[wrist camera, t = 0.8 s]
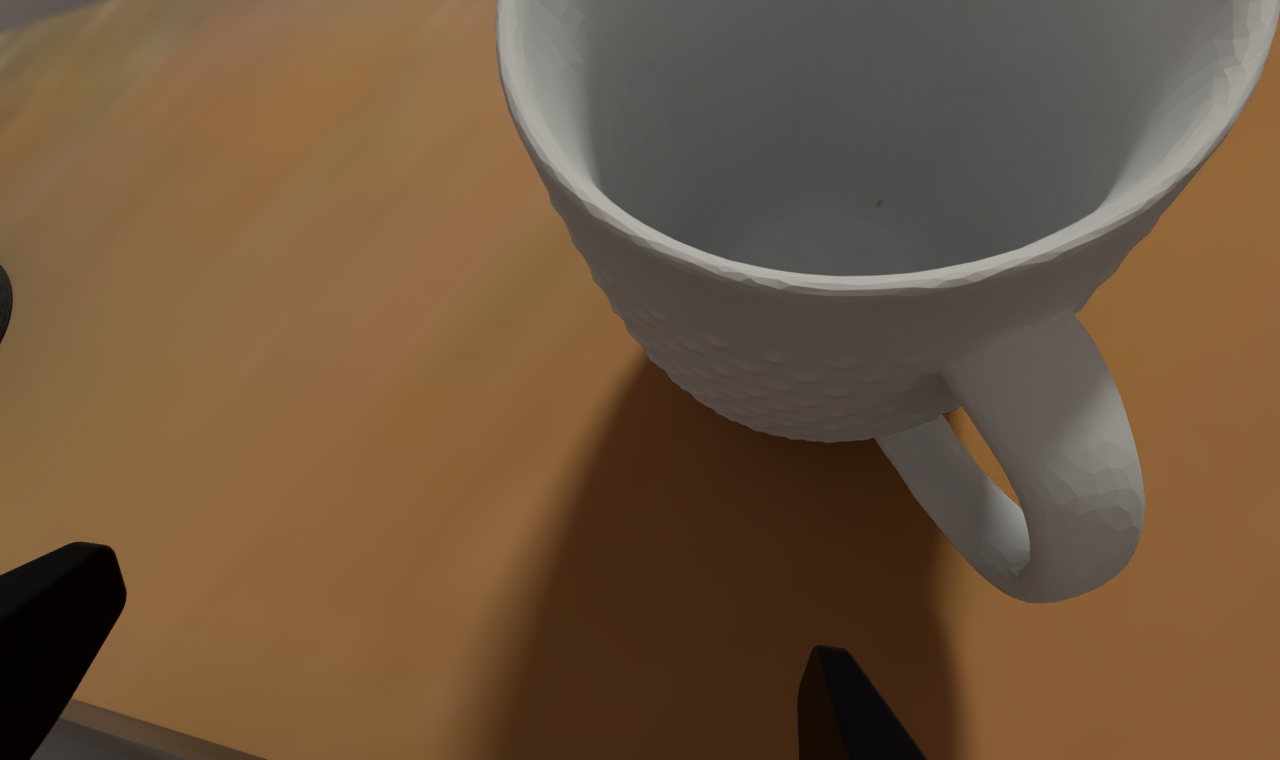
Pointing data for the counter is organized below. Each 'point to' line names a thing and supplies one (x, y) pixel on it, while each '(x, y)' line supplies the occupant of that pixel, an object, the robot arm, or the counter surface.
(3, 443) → the counter surface
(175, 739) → the track
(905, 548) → the counter surface
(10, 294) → the coffee cup
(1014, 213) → the mug
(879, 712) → the robot arm
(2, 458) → the counter surface
